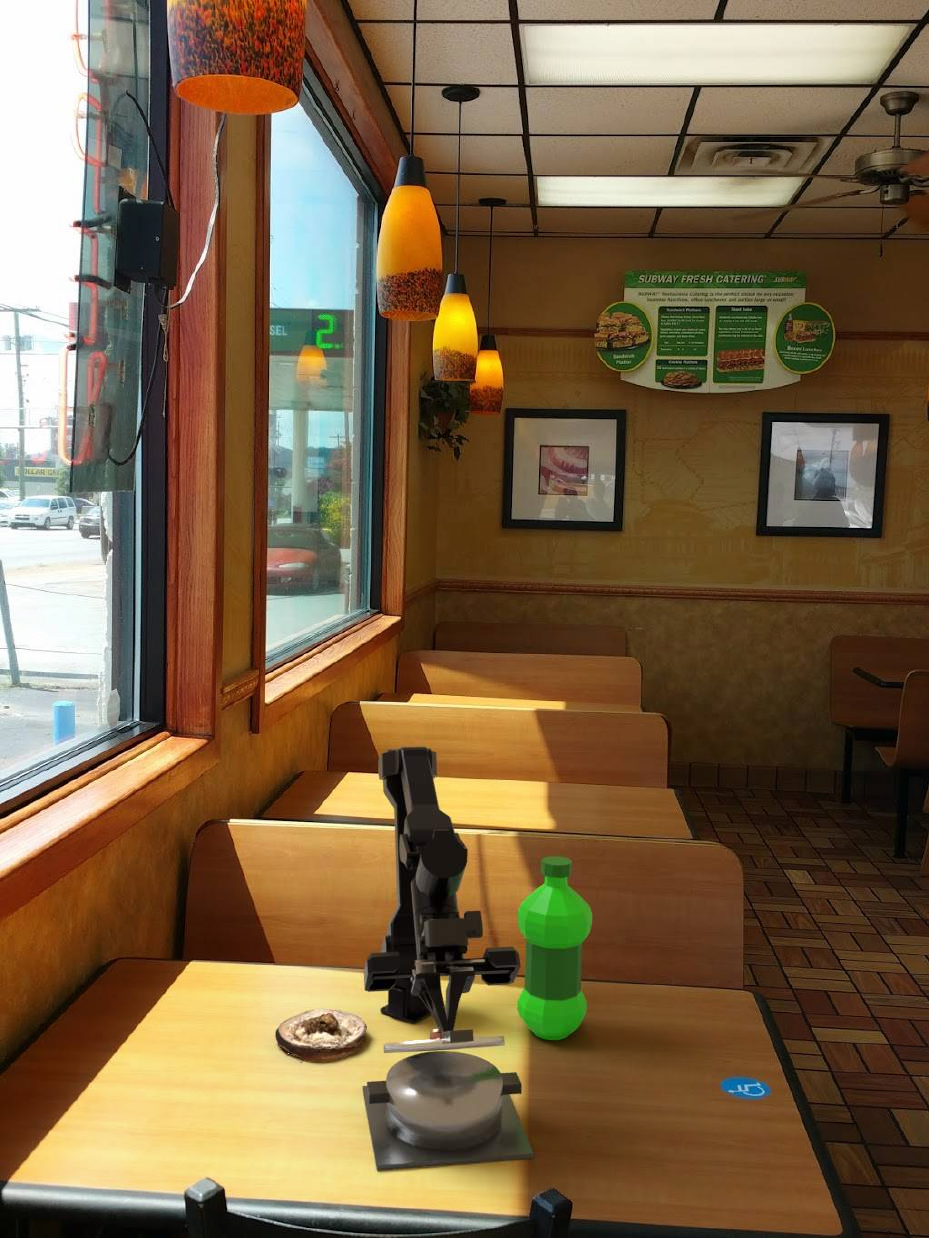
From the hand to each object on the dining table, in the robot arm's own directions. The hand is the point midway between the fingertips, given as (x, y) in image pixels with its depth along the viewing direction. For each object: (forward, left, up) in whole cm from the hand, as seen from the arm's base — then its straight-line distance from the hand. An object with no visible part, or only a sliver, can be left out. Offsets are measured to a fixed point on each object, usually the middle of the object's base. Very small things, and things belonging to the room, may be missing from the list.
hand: (448, 1038), depth 136 cm
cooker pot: (-1, -1, -11) cm, 12 cm away
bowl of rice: (-8, -28, -12) cm, 31 cm away
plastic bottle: (-30, -4, -12) cm, 33 cm away
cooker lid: (0, 0, -1) cm, 1 cm away
